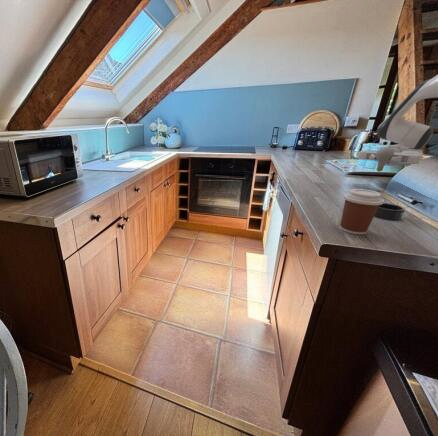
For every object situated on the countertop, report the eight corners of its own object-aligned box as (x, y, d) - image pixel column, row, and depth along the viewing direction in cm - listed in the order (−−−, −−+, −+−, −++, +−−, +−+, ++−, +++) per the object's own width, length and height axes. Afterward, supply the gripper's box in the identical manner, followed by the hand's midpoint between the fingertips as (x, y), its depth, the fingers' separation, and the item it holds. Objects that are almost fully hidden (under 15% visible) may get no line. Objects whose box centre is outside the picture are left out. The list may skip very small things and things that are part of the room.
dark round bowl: (393, 213, 86) (397, 204, 85) (405, 221, 79) (409, 211, 78) (366, 210, 89) (369, 201, 87) (375, 218, 82) (379, 208, 81)
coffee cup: (378, 232, 72) (393, 193, 68) (361, 238, 69) (376, 198, 64) (344, 221, 80) (356, 186, 75) (327, 227, 76) (338, 190, 72)
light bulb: (381, 170, 106) (389, 146, 102) (390, 172, 101) (399, 148, 97) (367, 170, 107) (374, 146, 103) (376, 172, 102) (384, 148, 98)
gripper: (365, 146, 115) (354, 148, 108) (428, 149, 100) (420, 153, 93) (361, 160, 118) (350, 163, 111) (421, 165, 102) (413, 169, 95)
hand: (382, 158), depth 101 cm, fingers closed on light bulb, 5 cm apart
